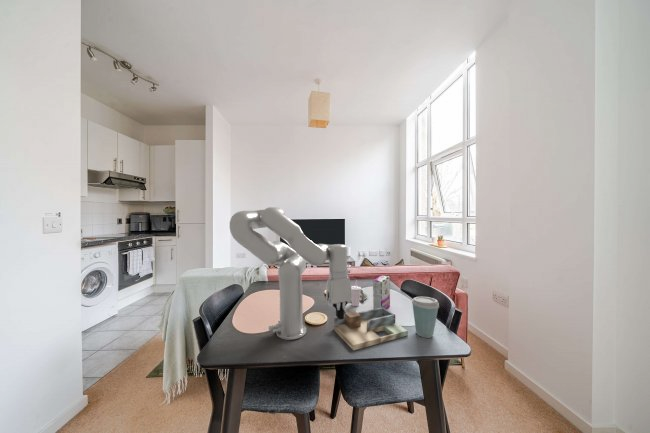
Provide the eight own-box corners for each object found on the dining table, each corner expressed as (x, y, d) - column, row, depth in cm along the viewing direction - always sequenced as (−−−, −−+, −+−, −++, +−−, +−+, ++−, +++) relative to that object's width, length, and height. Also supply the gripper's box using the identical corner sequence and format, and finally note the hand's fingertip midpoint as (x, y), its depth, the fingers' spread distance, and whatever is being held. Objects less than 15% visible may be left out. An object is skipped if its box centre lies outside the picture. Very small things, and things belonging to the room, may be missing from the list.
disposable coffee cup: (405, 330, 101) (406, 296, 101) (424, 325, 105) (424, 292, 105) (425, 343, 91) (425, 305, 91) (445, 337, 96) (445, 301, 95)
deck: (353, 350, 87) (353, 335, 87) (333, 329, 102) (333, 316, 102) (407, 335, 97) (407, 322, 97) (382, 318, 113) (382, 306, 113)
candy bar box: (381, 304, 130) (381, 274, 129) (390, 306, 127) (390, 276, 126) (372, 311, 121) (372, 279, 120) (381, 313, 118) (381, 281, 117)
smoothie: (358, 308, 124) (358, 282, 124) (347, 305, 128) (347, 280, 128) (363, 304, 130) (363, 279, 130) (352, 301, 133) (352, 277, 133)
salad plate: (376, 301, 135) (376, 293, 135) (348, 306, 128) (348, 298, 128) (359, 290, 153) (359, 283, 153) (334, 294, 146) (334, 287, 146)
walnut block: (350, 329, 99) (350, 317, 99) (344, 323, 103) (344, 312, 103) (360, 326, 101) (360, 315, 100) (354, 321, 105) (354, 310, 105)
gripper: (349, 270, 104) (351, 311, 104) (318, 274, 98) (320, 318, 98) (358, 273, 97) (360, 317, 97) (325, 279, 91) (327, 326, 91)
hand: (340, 318), depth 98 cm, fingers closed
